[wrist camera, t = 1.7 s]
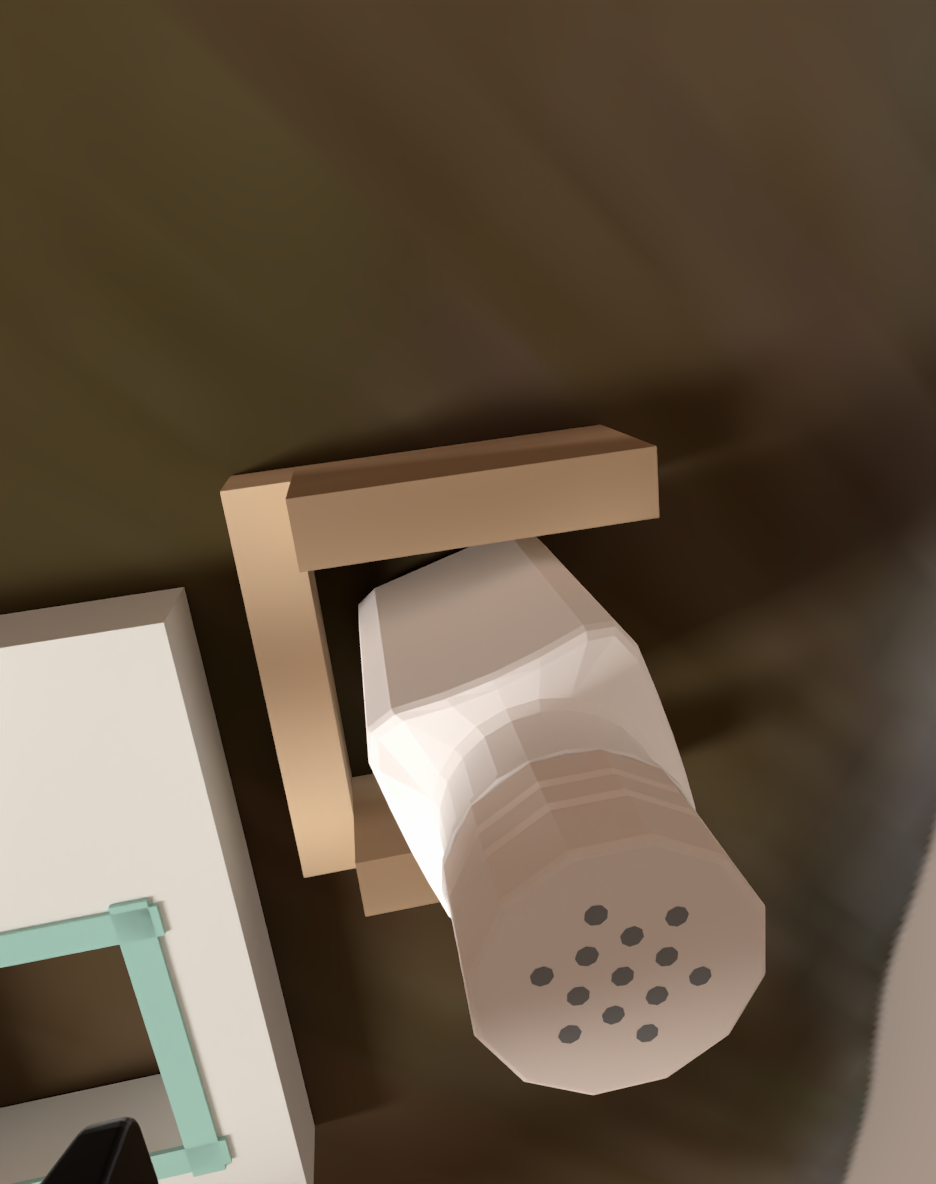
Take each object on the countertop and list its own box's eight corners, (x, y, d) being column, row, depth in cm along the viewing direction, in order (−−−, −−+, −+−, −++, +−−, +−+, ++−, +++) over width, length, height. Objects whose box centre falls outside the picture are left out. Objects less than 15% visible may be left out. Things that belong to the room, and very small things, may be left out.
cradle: (621, 775, 19) (672, 855, 16) (306, 834, 18) (301, 929, 15) (600, 424, 16) (656, 446, 13) (230, 475, 15) (206, 510, 12)
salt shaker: (345, 591, 16) (355, 911, 7) (528, 512, 16) (754, 736, 8) (422, 750, 18) (509, 1180, 9) (591, 675, 18) (845, 1030, 9)
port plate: (314, 1127, 21) (312, 1212, 19) (-105, 1221, 20) (-154, 1323, 18) (184, 586, 16) (162, 624, 14) (-379, 672, 15) (-490, 726, 13)
